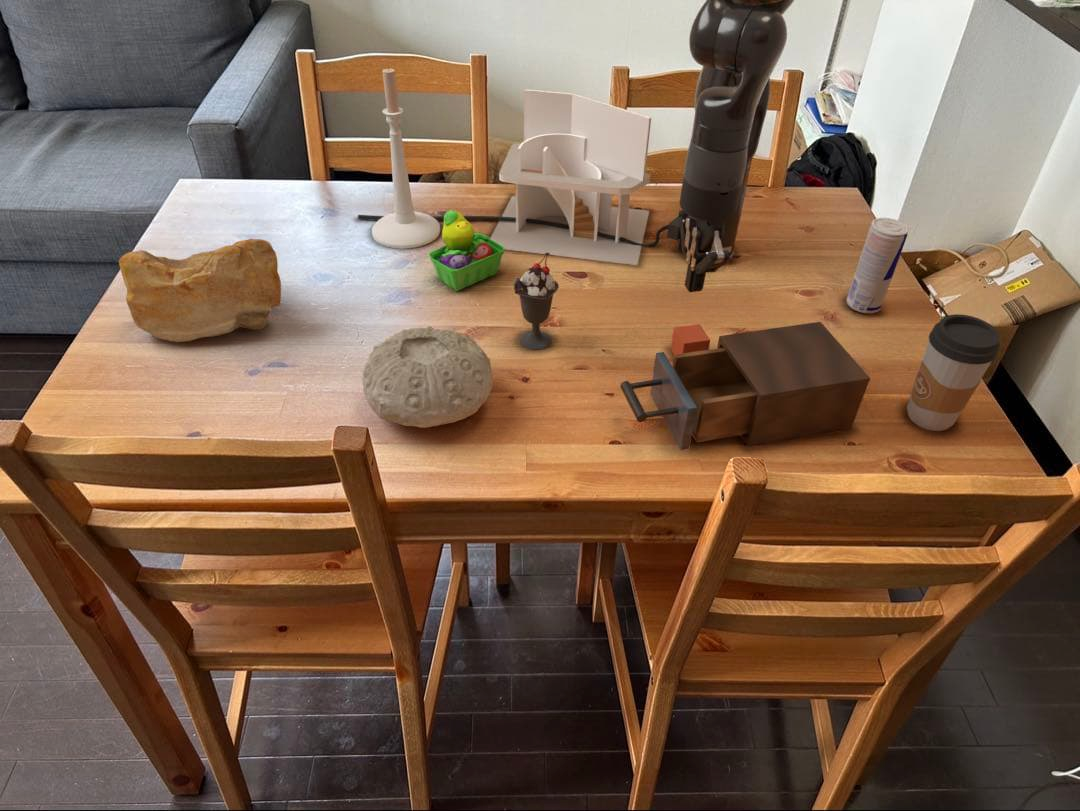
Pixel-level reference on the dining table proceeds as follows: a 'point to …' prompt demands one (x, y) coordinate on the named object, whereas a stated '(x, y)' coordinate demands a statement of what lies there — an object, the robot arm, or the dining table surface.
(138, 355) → the dining table surface
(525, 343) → the sundae
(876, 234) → the beverage can
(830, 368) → the cabinet
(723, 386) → the drawer
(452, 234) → the fruit basket
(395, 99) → the candlestick
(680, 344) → the block
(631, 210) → the architectural model
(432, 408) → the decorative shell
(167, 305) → the rough brown rock
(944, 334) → the coffee cup
